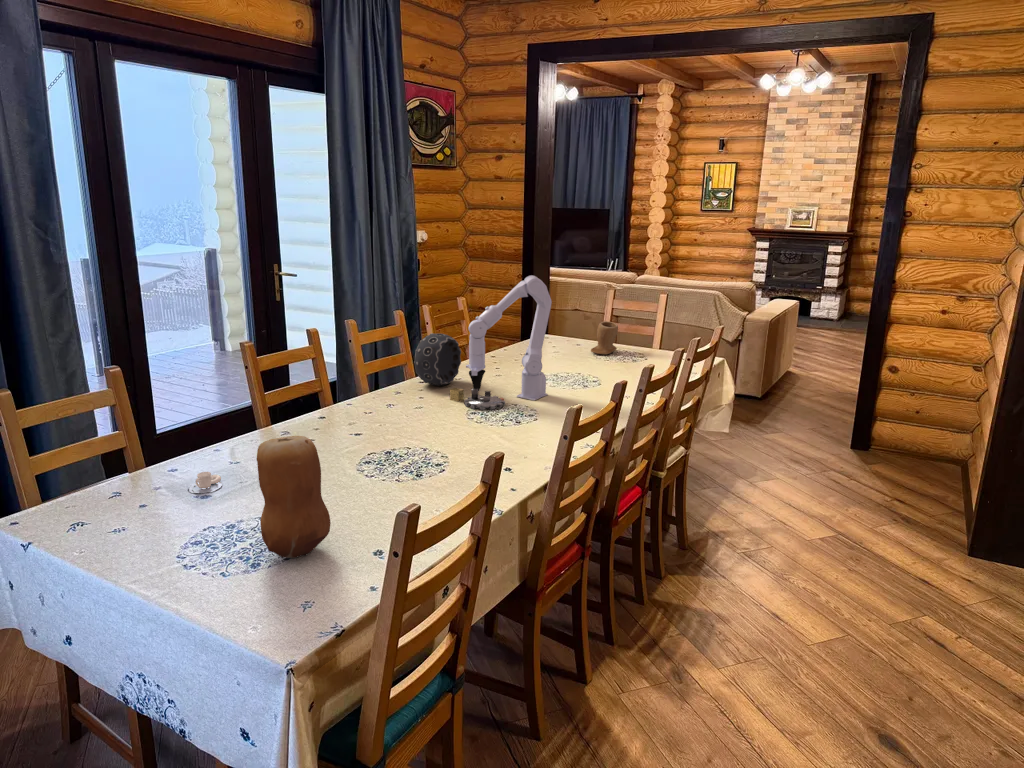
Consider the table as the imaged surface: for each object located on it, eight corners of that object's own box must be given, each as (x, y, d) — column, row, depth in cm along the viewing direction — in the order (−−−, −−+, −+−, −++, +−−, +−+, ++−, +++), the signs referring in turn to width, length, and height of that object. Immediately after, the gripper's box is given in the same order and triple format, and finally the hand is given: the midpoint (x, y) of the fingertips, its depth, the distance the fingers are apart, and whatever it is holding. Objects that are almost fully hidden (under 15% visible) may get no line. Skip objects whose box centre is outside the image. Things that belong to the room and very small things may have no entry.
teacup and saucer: (215, 479, 178) (214, 464, 177) (231, 487, 173) (230, 472, 172) (182, 489, 172) (180, 474, 171) (197, 498, 167) (196, 483, 166)
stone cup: (610, 357, 321) (612, 325, 317) (587, 354, 327) (588, 322, 323) (623, 351, 334) (624, 321, 330) (600, 348, 340) (601, 318, 336)
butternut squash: (288, 533, 150) (280, 423, 143) (343, 542, 146) (338, 431, 140) (247, 564, 137) (236, 445, 131) (306, 575, 133) (298, 454, 127)
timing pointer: (490, 398, 253) (490, 391, 252) (484, 398, 253) (484, 391, 252) (490, 397, 254) (490, 391, 253) (485, 397, 254) (485, 391, 253)
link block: (450, 400, 250) (449, 389, 249) (455, 398, 252) (455, 387, 251) (458, 402, 248) (458, 391, 247) (463, 400, 250) (463, 389, 249)
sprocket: (480, 395, 255) (481, 383, 253) (513, 402, 247) (513, 390, 245) (456, 404, 243) (456, 391, 242) (489, 412, 235) (489, 399, 234)
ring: (412, 388, 264) (411, 336, 259) (440, 377, 281) (440, 328, 276) (435, 392, 259) (435, 340, 254) (463, 380, 276) (463, 331, 271)
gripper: (468, 349, 256) (468, 384, 260) (463, 357, 242) (463, 395, 246) (487, 349, 255) (487, 385, 259) (483, 358, 242) (482, 395, 245)
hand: (476, 390), depth 252 cm, fingers closed
